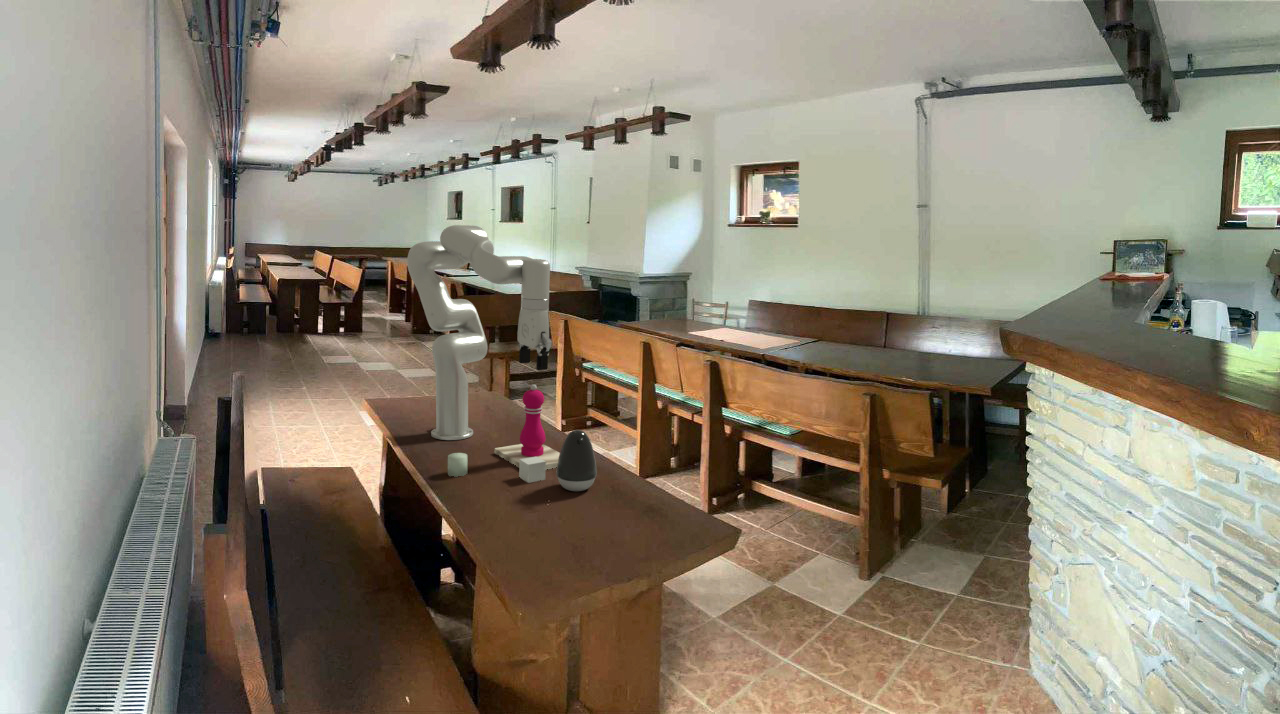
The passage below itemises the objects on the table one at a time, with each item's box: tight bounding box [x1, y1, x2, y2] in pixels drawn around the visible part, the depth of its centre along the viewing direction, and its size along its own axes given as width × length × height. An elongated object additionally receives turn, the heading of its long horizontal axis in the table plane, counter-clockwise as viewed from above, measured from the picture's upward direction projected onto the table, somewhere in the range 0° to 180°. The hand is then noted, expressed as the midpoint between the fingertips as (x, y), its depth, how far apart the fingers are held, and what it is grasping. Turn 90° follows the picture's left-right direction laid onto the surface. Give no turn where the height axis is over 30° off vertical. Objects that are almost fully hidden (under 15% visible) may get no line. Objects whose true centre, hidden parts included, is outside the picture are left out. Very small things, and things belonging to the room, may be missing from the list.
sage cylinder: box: [447, 452, 468, 478], centre depth 194 cm, size 5×5×5 cm
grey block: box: [518, 456, 547, 484], centre depth 193 cm, size 5×5×5 cm
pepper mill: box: [519, 384, 546, 457], centre depth 207 cm, size 7×7×20 cm
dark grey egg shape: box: [555, 429, 598, 492], centre depth 186 cm, size 10×10×15 cm
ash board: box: [494, 443, 560, 471], centre depth 209 cm, size 20×14×2 cm
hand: (533, 366), depth 205 cm, fingers open, 9 cm apart
